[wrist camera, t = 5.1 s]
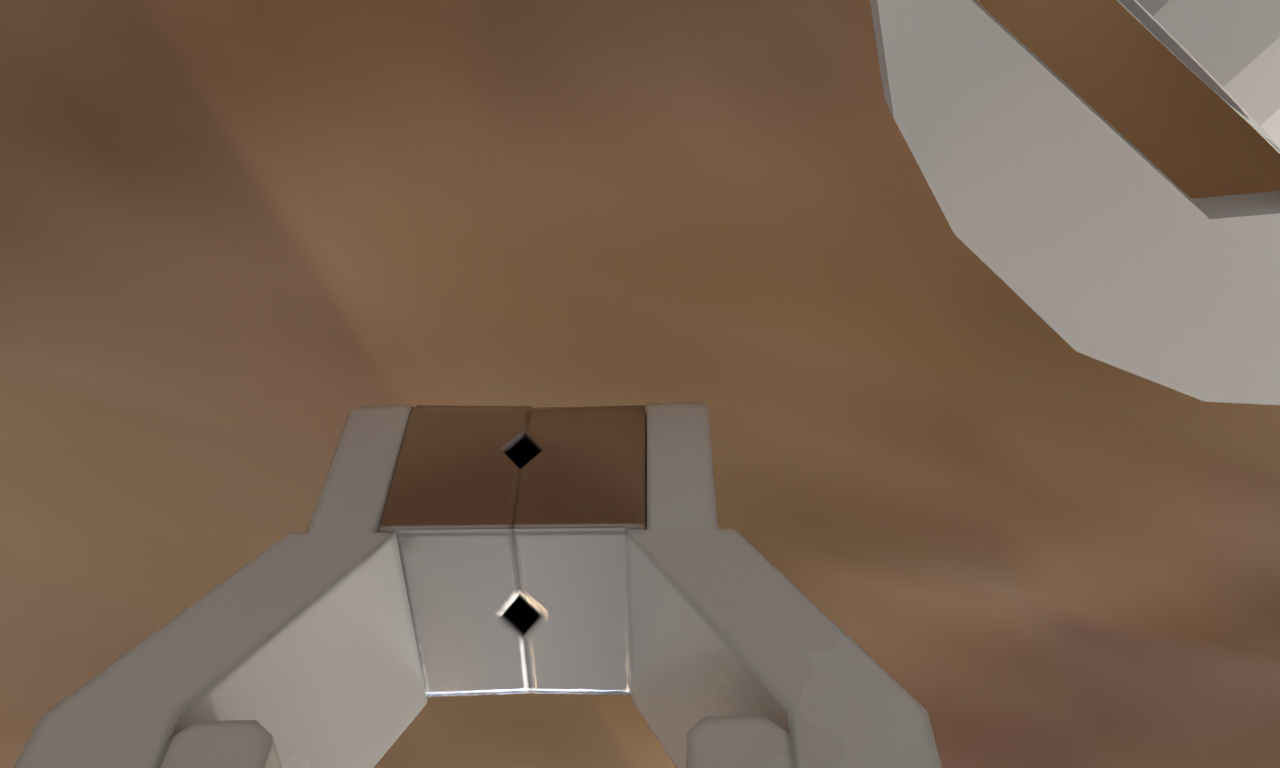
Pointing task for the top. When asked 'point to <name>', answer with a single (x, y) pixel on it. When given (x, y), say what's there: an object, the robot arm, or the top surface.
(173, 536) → the top surface
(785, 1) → the top surface
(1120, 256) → the pizza cutter
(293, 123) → the top surface
